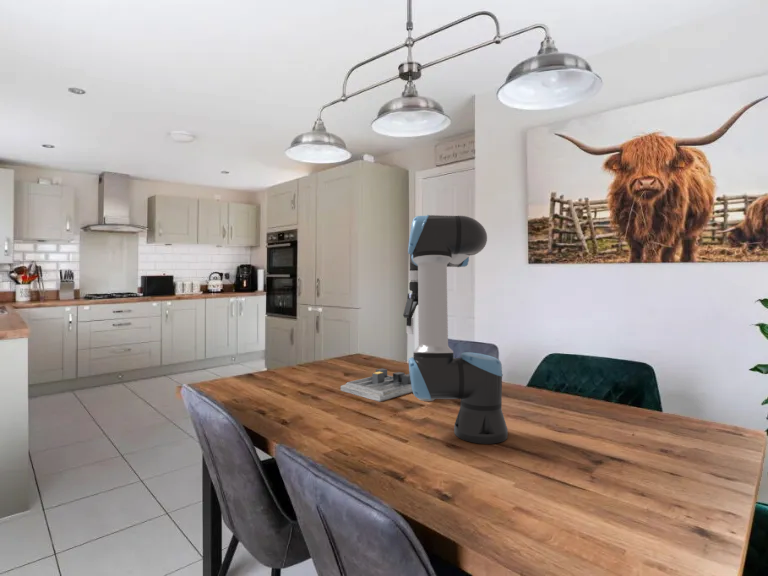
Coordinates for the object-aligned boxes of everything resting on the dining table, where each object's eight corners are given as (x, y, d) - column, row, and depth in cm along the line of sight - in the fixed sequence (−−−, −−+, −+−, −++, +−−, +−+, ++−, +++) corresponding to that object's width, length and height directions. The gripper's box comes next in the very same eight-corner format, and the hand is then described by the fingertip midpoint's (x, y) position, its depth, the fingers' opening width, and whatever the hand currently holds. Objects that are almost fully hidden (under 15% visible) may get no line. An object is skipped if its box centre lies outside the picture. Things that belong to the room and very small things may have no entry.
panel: (379, 401, 158) (379, 385, 158) (340, 390, 173) (340, 375, 173) (424, 388, 177) (424, 374, 177) (385, 379, 192) (385, 366, 192)
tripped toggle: (377, 384, 174) (377, 373, 174) (372, 383, 176) (372, 372, 176) (384, 382, 177) (384, 372, 177) (379, 381, 179) (379, 371, 179)
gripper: (411, 281, 167) (410, 336, 168) (439, 280, 188) (439, 329, 189) (394, 281, 171) (394, 334, 172) (424, 280, 192) (424, 328, 193)
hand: (418, 332), depth 180 cm, fingers open, 13 cm apart
